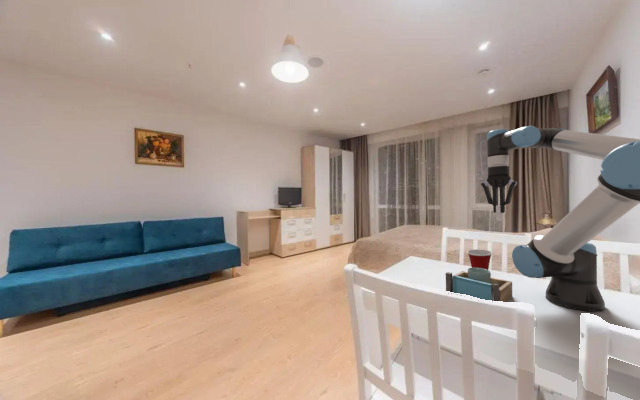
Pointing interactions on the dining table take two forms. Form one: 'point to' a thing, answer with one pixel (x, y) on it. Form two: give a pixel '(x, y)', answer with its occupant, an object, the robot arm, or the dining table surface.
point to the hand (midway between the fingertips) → (499, 220)
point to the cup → (479, 274)
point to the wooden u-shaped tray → (499, 286)
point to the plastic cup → (479, 258)
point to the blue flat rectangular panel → (472, 287)
